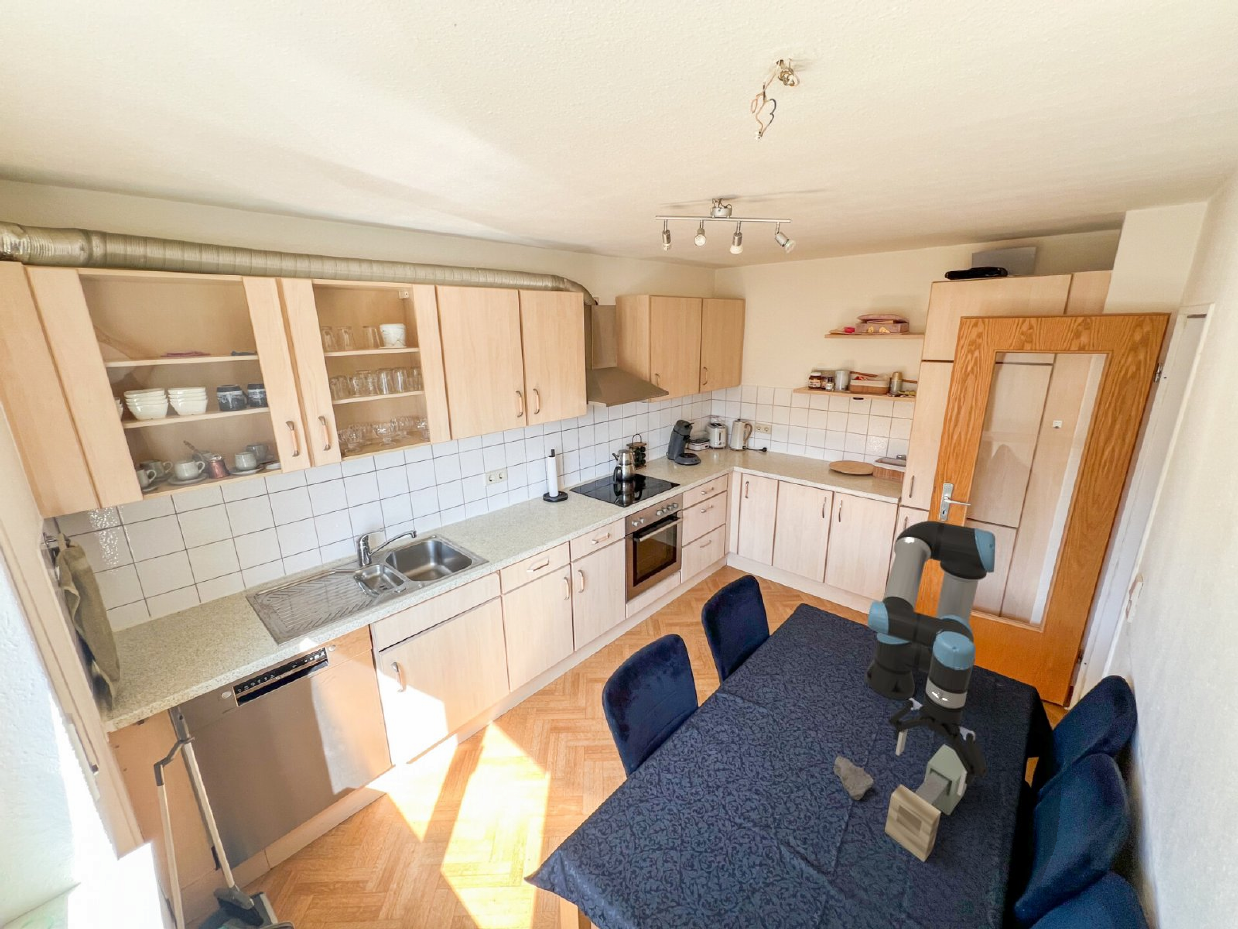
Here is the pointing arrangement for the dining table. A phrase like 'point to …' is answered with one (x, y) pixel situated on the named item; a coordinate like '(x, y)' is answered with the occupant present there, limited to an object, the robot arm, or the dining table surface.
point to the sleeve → (950, 768)
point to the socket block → (912, 822)
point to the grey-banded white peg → (934, 788)
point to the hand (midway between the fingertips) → (929, 771)
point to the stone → (852, 777)
